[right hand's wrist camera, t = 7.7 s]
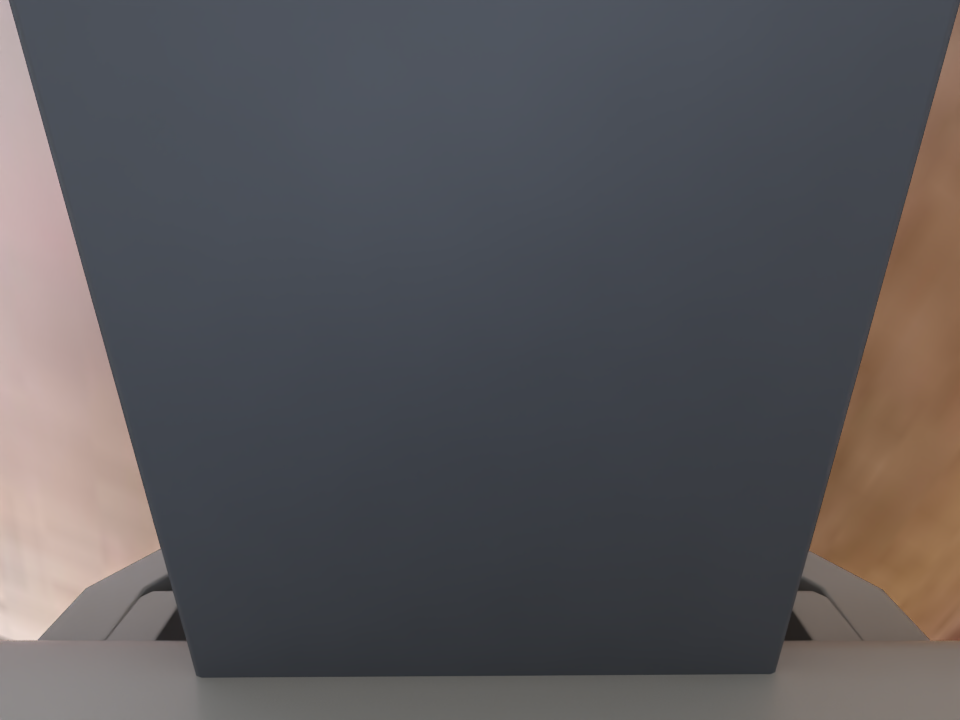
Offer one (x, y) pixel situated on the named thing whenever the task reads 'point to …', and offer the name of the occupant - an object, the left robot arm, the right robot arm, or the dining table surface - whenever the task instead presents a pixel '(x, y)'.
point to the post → (484, 310)
